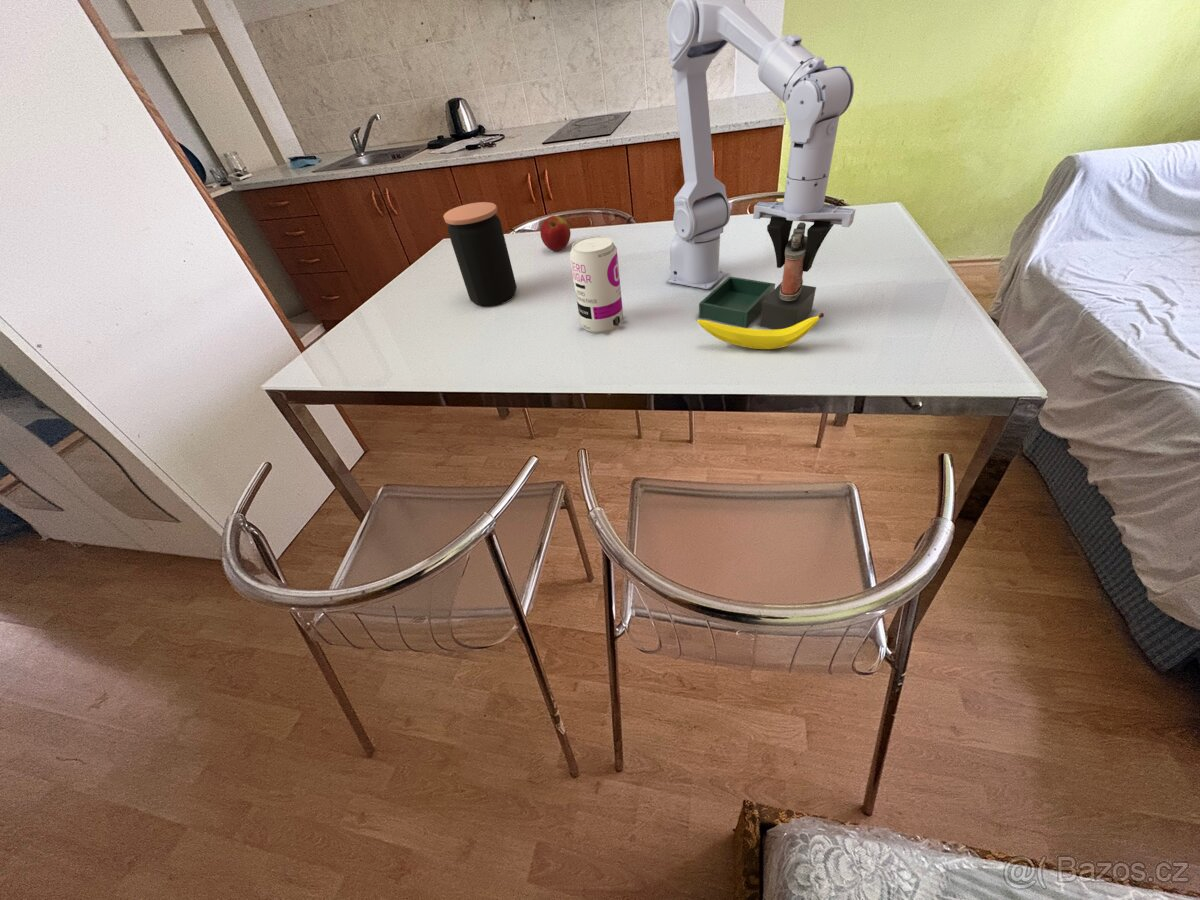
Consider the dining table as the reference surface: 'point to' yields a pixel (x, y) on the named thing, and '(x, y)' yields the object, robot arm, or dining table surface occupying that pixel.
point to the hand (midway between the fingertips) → (793, 267)
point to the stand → (786, 308)
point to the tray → (735, 301)
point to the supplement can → (597, 283)
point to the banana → (759, 334)
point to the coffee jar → (481, 253)
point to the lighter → (794, 264)
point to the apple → (555, 233)
